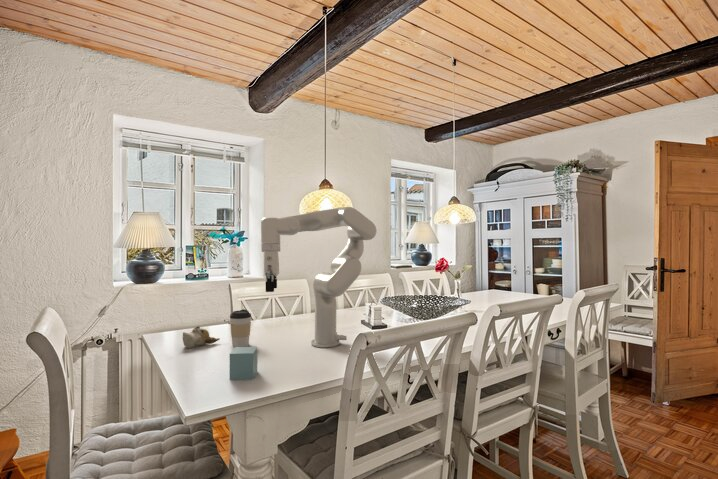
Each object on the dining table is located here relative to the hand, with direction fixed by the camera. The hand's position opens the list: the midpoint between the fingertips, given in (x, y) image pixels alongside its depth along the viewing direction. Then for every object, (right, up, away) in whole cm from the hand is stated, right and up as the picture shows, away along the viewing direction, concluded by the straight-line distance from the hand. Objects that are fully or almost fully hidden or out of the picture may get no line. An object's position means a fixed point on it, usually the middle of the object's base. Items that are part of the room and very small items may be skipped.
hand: (271, 289), depth 162 cm
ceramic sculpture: (-34, -26, +11) cm, 44 cm away
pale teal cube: (-4, -26, -25) cm, 37 cm away
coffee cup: (-16, -26, +12) cm, 33 cm away
